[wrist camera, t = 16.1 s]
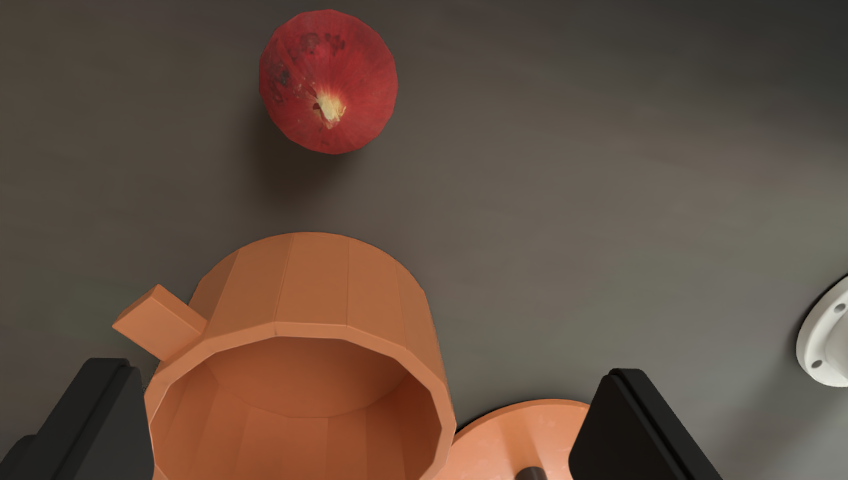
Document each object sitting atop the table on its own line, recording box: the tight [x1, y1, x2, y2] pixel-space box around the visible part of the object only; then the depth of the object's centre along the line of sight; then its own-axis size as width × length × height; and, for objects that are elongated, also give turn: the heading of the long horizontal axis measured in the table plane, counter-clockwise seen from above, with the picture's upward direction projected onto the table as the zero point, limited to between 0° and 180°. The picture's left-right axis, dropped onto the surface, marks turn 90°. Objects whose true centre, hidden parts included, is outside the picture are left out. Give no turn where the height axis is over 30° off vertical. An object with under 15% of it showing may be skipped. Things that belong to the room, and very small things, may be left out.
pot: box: [112, 232, 457, 480], centre depth 28 cm, size 16×21×8 cm
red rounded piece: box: [259, 9, 398, 155], centre depth 21 cm, size 6×6×8 cm
